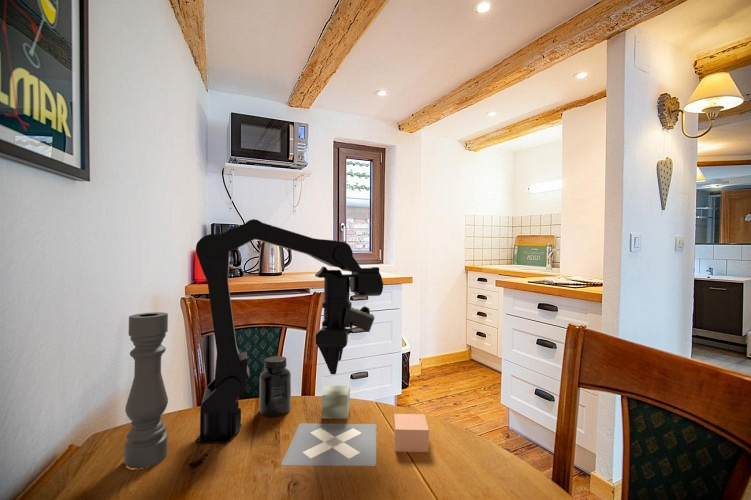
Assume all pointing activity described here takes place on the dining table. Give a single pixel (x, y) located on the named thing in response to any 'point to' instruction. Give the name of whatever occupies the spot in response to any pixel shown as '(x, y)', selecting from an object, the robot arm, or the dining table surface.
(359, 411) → the dining table surface
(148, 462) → the candle holder
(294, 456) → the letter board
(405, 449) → the terracotta block
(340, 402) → the sage cube
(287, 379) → the supplement bottle
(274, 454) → the dining table surface
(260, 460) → the dining table surface
